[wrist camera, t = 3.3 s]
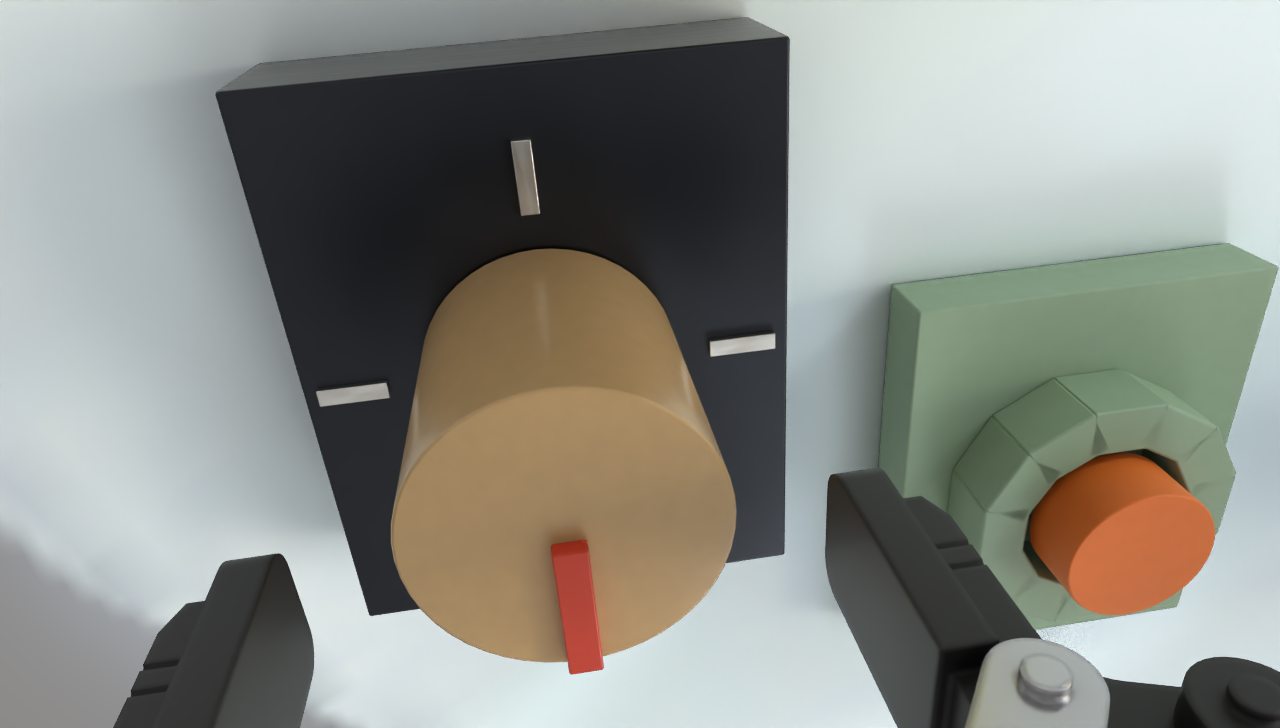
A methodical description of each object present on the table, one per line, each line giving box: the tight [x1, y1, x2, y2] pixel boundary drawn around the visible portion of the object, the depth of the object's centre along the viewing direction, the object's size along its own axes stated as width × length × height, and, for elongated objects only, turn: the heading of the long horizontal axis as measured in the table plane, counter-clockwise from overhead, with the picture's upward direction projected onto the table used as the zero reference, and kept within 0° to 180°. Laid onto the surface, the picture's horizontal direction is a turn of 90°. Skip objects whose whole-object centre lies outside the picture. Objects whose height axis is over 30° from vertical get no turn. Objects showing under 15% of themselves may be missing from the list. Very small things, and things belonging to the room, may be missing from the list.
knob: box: [391, 249, 737, 674], centre depth 15 cm, size 5×5×6 cm
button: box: [1029, 453, 1215, 615], centre depth 21 cm, size 4×4×2 cm
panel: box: [216, 17, 790, 616], centre depth 19 cm, size 12×10×3 cm
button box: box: [879, 243, 1278, 630], centre depth 23 cm, size 11×9×4 cm
